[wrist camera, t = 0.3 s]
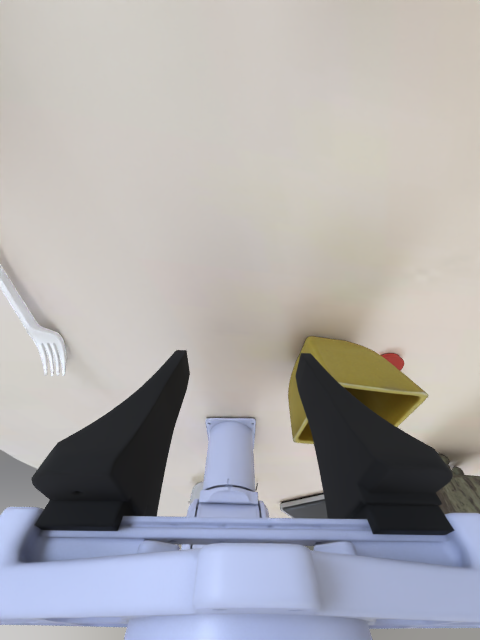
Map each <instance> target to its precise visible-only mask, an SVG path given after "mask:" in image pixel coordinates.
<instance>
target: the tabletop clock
mask: <svg viewBox="0 0 480 640" xmlns="http://www.w3.org/2000/svg"><path fill="white" fill-rule="evenodd" d="M439 456H440V457H441V458H442V460H443V461H444V462H445V464H446V465H447V466H448V464H449V463H450V461H449V459H448V458H447V457H446V456H444V455H439ZM448 467H449V466H448ZM449 469H450V467H449ZM450 470H451V469H450ZM451 471H452V474H453V476H452V479H451V481H450V482H449V483H448V484H447V485H445V486H444V487H443V488H441V489H440V490H439V491H437V492H436V494H437V496H438V497H439V499H440V500H441V502H442V504H441V505H439V507H440V509H441V510H442V512H443V513H444V515H445V514H449V513H479V514H480V476H471V475H464V473H463V471H462V470H461V469H460V468H457V467H453V468H452V470H451Z"/></svg>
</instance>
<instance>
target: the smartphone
mask: <svg viewBox="0 0 480 640" xmlns="http://www.w3.org/2000/svg"><path fill="white" fill-rule="evenodd" d="M280 510H281V511H282V512H284V513H285V514H287V515H288V516H290V517H291V518H310V519H328V517H327V510H326V504H325V498H324V494H322V495H317V496H313V497H308V498H304V499H299V500H294V501H290V502H285V503H281V504H280Z"/></svg>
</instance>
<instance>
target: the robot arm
mask: <svg viewBox="0 0 480 640" xmlns="http://www.w3.org/2000/svg"><path fill="white" fill-rule="evenodd" d="M189 375H190V372H189V365H188V358H187V351H186V350H176V351H175V352H174V353H173V355H172V356H171V357H170V358H169V359H168V360H167V361H166V362H165V364H164V365H163V366H162V367H161V368H160V369H159V370H158V371H157V372H156V373H155V374H154V375H153V376H152V377H151V378H150V379H149V380H148V381H147V382H146V383H145V384H144V385H143V386H142V387H141V388H139V389H138V390H137V391H136V392H135V393H134V394H132V395H131V396H130V397H129V398H128V399H126V400H125V401H124V402H122V403H121V404H120V405H118V406H117V407H115V408H114V409H113V410H111V411H110V412H109V413H107V414H106V415H104V416H103V417H101V418H99V419H98V420H96V421H95V422H93V423H92V424H90V425H88V426H87V427H85V428H83V429H82V430H80V431H78V432H76V433H74V434H73V435H71V436H69V437H67V438H66V439H64V440H62V441H60V442H58V443H57V445H56V446H55V447H54V448H53V450H52V451H51V452H50V453H49V455H48V456H47V458H46V459H45V460H44V462H43V463H42V464H41V466H40V467H39V469H38V470H37V471H36V473H35V474H34V475H33V477H32V483H33V485H34V486H35V488H36V489H38V490H39V491H40V492H41V493H43V494H44V495H45V496H46V497H47V498H49V499H50V501H49V503H48V504H47V506H46V507H45V509H42V508H38V507H8V508H6V509H5V510H4V511H3V512H2V514H1V515H0V625H52V626H54V625H55V626H94V627H95V626H96V627H127V630H126V634H125V637H124V640H372V637H371V633H370V630H369V629H380V628H381V629H383V628H384V629H385V628H386V629H388V628H480V514H479V513H449V514H445V515H444V513H443V512H442V510H441V509H440V507H439V505H441V504H442V502H441V500H440V499H439V497H438V496H437V494H436V492H437V491H439V490H440V489H441V488H443V487H444V486H445V485H447V484H448V483H449V482H450V481H451V479H452V476H453V474H452V471H451V470H450V469H449V467H448V466H447V465H446V464H445V462H444V461H443V460H442V458H441V457H440V456H439V454H438V453H437V452H436V451H435V449H433V448H432V447H430V446H428V445H426V444H425V443H423V442H421V441H419V440H417V439H416V438H414V437H412V436H410V435H409V434H407V433H405V432H404V431H402V430H400V429H399V428H397V427H396V426H394V425H392V424H391V423H389V422H388V421H386V420H385V419H383V418H382V417H380V416H379V415H378V414H376V413H375V412H373V411H372V410H371V409H369V408H368V407H367V406H365V405H364V404H363V403H362V402H360V401H359V400H358V399H357V398H355V397H354V396H353V395H352V394H351V393H349V392H348V391H347V390H346V389H345V388H344V387H343V386H342V385H341V384H339V383H338V382H337V381H336V380H335V379H334V378H333V377H332V376H331V375H330V374H329V373H328V372H327V370H326V369H325V368H324V367H323V366H322V365H321V364H320V363H319V362H318V361H317V360H316V359H315V358H314V356H313V355H312V354H311V353H301V355H300V359H299V363H298V367H297V371H296V375H295V377H296V383H297V388H298V392H299V395H300V399H301V402H302V405H303V408H304V411H305V414H306V417H307V420H308V423H309V426H310V429H311V433H312V437H313V442H314V446H315V450H316V455H317V460H318V465H319V470H320V475H321V481H322V486H323V492H324V498H325V504H326V510H327V517H328V519H310V518H269V513H268V509H267V507H266V506H265V504H264V502H263V501H258V492H255V475H254V454H253V449H254V438H255V426H256V419H254V418H207V419H206V427H207V434H208V441H209V443H208V451H207V458H206V466H205V474H204V482H203V489H202V490H201V491H200V497H199V499H194V500H193V502H192V503H191V504H190V506H189V508H188V512H187V516H186V517H159V516H157V510H158V505H159V499H160V493H161V488H162V482H163V477H164V472H165V467H166V462H167V457H168V453H169V448H170V444H171V439H172V435H173V430H174V427H175V423H176V420H177V417H178V414H179V411H180V408H181V405H182V402H183V399H184V396H185V393H186V390H187V385H188V380H189ZM175 544H182V548H181V550H179V549H180V548H179V546H178V545H175ZM305 546H314V551H311V550H309V549H308V547H305Z"/></svg>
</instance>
